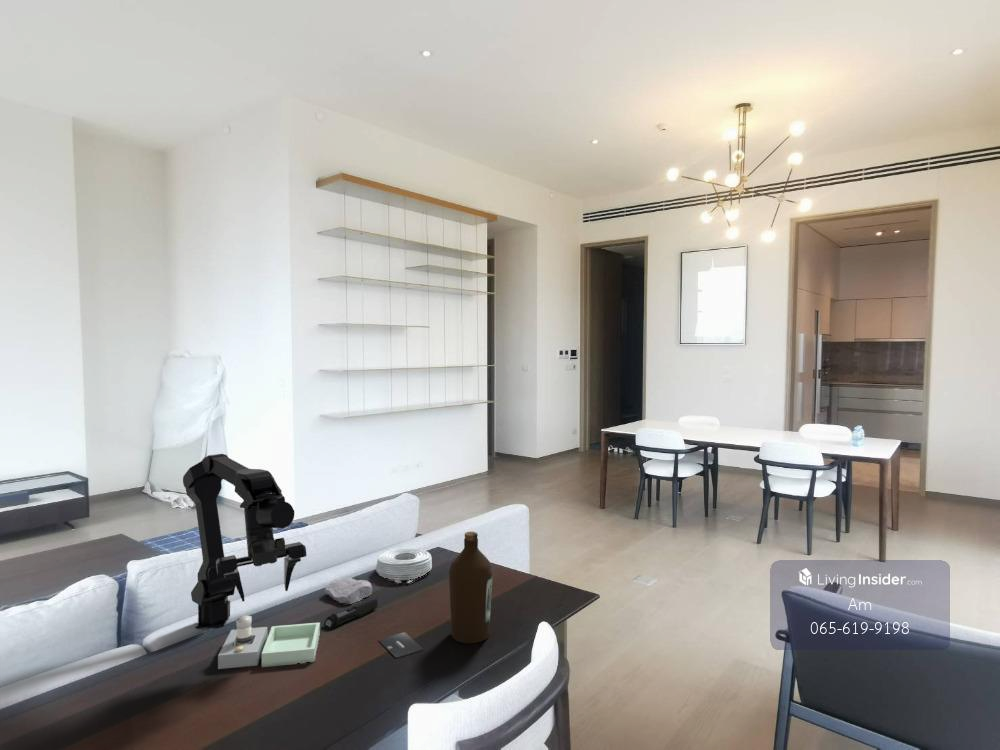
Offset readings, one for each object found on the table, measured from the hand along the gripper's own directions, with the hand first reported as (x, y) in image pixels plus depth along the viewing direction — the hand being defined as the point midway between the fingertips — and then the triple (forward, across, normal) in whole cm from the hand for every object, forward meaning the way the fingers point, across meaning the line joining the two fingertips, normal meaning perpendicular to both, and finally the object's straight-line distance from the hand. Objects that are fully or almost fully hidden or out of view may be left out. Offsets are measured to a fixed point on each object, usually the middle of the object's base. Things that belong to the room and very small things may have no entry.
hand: (265, 595), depth 132 cm
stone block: (+12, +23, +24) cm, 36 cm away
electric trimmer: (+14, +21, +10) cm, 27 cm away
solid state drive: (+17, +27, -9) cm, 33 cm away
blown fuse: (+12, -5, +3) cm, 14 cm away
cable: (+12, +44, +34) cm, 57 cm away
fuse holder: (+12, -5, +3) cm, 14 cm away
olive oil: (+18, +44, -12) cm, 49 cm away
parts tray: (+14, +5, 0) cm, 14 cm away
